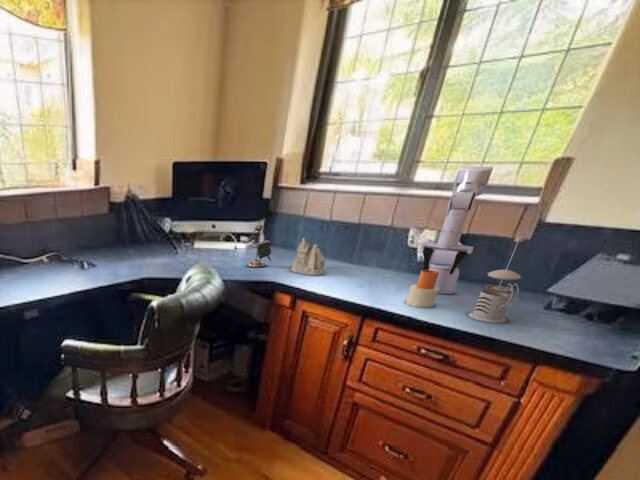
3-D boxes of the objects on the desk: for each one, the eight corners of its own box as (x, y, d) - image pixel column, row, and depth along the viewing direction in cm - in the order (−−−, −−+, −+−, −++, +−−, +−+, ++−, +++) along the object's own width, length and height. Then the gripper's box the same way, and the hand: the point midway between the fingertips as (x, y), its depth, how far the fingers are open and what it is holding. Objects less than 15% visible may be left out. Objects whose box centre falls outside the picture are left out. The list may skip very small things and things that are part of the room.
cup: (431, 285, 148) (436, 270, 145) (435, 289, 143) (441, 273, 141) (414, 284, 149) (419, 269, 146) (418, 288, 145) (423, 272, 142)
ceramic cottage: (315, 276, 183) (322, 240, 177) (283, 270, 195) (289, 237, 189) (335, 272, 192) (342, 238, 185) (303, 267, 204) (309, 235, 197)
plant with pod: (269, 268, 198) (275, 223, 188) (245, 267, 202) (250, 223, 192) (271, 264, 204) (277, 221, 195) (247, 263, 208) (252, 220, 199)
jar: (429, 301, 151) (435, 284, 148) (436, 308, 145) (442, 291, 142) (403, 299, 154) (408, 283, 151) (409, 306, 147) (414, 289, 144)
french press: (491, 312, 140) (524, 234, 128) (518, 324, 130) (556, 241, 118) (461, 312, 140) (490, 234, 128) (485, 325, 130) (520, 241, 118)
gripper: (423, 230, 142) (411, 270, 149) (476, 234, 134) (461, 277, 140) (428, 228, 147) (416, 267, 153) (479, 232, 138) (464, 273, 144)
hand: (438, 271), depth 147 cm, fingers open, 7 cm apart
